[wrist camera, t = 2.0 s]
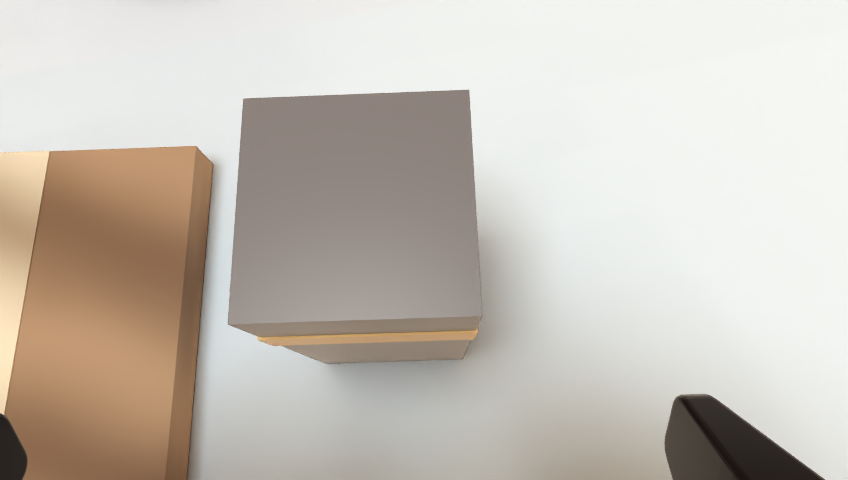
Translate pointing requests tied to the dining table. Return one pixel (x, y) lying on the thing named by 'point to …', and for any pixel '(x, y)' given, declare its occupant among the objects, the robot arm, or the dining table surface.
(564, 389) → the dining table surface
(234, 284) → the gift box with lid
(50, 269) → the cardboard box
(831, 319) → the dining table surface
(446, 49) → the dining table surface
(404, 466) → the dining table surface
